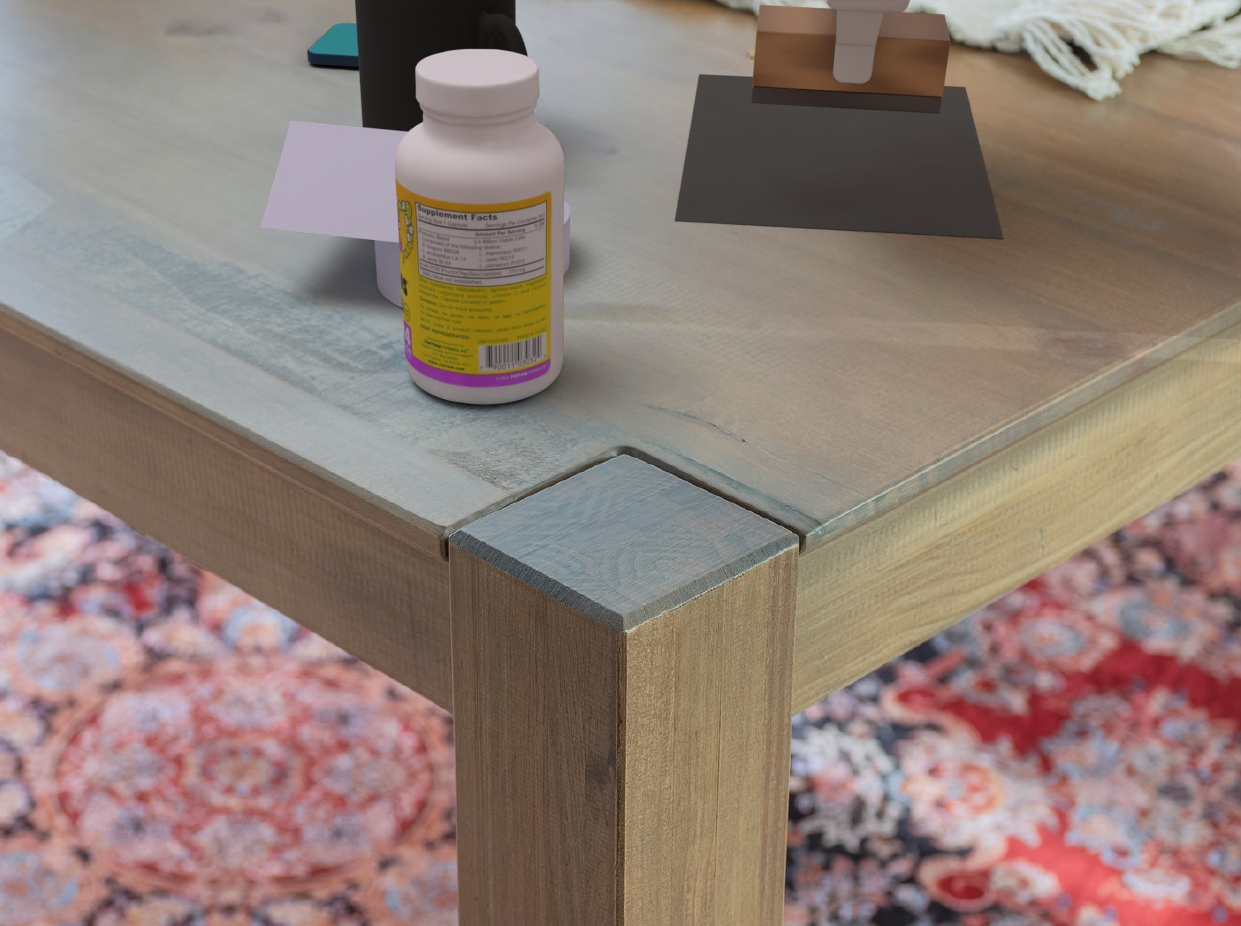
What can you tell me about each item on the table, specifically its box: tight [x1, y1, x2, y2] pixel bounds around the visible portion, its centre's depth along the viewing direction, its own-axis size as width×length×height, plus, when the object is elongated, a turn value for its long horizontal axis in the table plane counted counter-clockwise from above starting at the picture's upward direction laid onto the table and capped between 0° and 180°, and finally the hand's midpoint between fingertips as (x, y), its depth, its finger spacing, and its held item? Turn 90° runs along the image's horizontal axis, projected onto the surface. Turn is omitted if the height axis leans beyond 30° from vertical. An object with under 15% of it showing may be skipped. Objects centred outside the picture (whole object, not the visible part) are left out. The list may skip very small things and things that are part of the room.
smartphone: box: [306, 22, 359, 68], centre depth 107 cm, size 7×1×15 cm
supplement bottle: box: [395, 49, 565, 405], centre depth 67 cm, size 7×7×13 cm
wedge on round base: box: [259, 120, 571, 309], centre depth 77 cm, size 9×7×13 cm
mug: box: [354, 0, 529, 132], centre depth 88 cm, size 8×12×10 cm
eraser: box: [751, 4, 951, 114], centre depth 81 cm, size 9×5×3 cm, turn 83°
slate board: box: [674, 73, 1004, 240], centre depth 92 cm, size 16×24×1 cm, turn 174°
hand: (849, 59), depth 81 cm, fingers closed on eraser, 4 cm apart
